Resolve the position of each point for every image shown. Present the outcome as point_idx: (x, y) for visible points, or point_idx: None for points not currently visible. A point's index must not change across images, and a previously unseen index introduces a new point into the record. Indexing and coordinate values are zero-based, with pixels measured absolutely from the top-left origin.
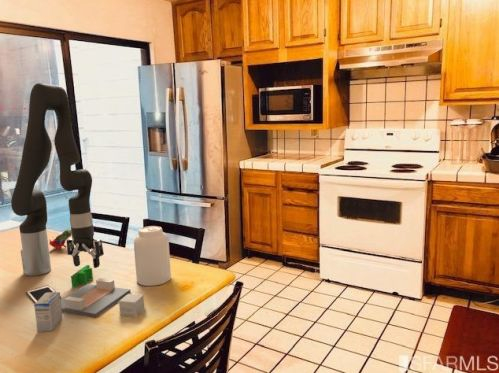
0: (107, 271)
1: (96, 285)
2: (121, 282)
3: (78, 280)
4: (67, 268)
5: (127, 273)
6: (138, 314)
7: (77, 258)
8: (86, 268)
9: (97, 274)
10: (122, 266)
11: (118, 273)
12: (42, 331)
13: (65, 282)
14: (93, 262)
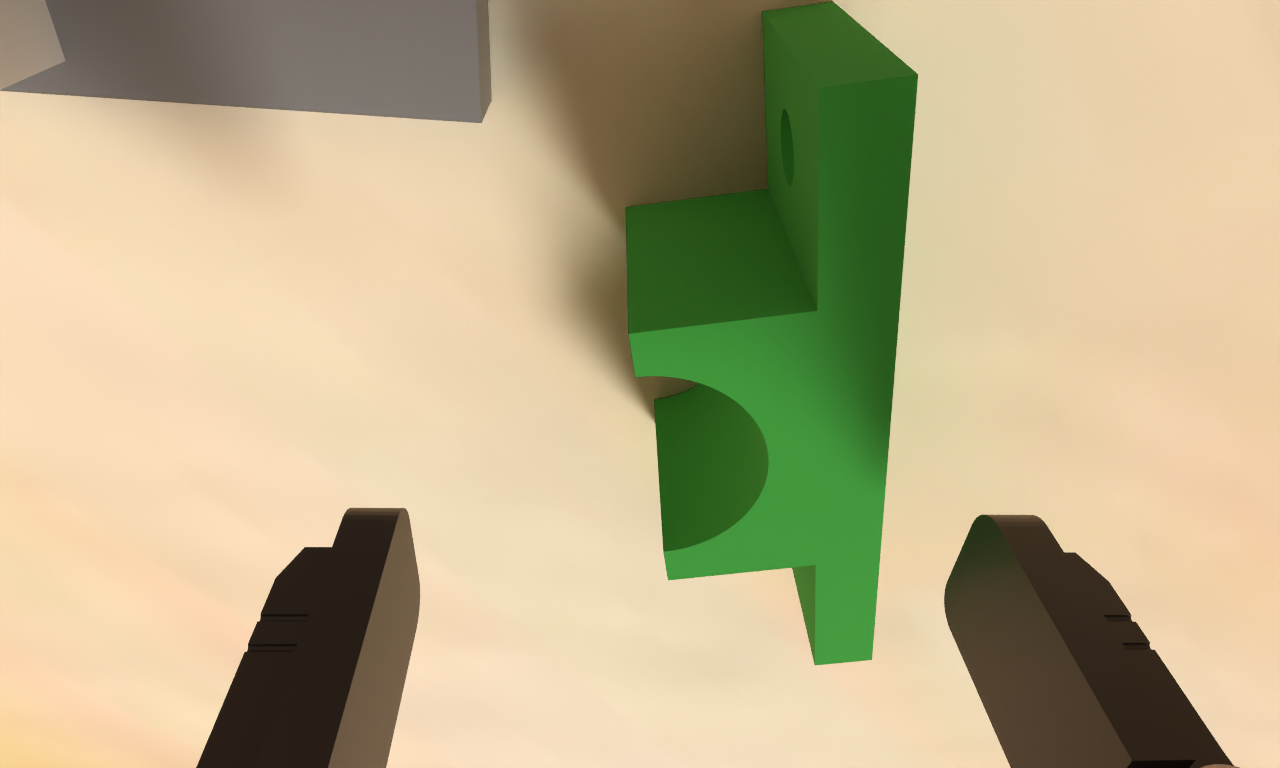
0: (609, 639)
1: (202, 82)
2: (52, 395)
3: (781, 207)
4: (1262, 623)
5: None
6: None
7: (1051, 742)
8: (774, 547)
9: None
10: (519, 755)
11: None
12: None
13: (1105, 210)
14: (354, 639)
